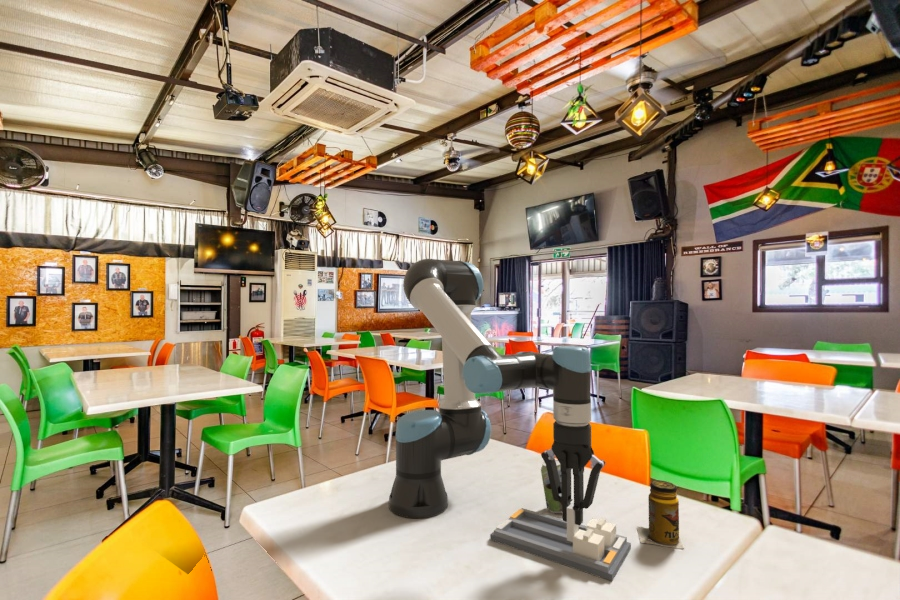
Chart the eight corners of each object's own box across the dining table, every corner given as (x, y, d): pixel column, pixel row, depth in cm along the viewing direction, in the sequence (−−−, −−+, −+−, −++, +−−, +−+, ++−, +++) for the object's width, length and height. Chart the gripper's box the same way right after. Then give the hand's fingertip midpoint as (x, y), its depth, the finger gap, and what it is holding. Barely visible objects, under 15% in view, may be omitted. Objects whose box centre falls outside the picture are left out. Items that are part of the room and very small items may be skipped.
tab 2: (586, 542, 94) (586, 521, 94) (592, 535, 97) (592, 514, 97) (610, 550, 91) (610, 528, 91) (616, 542, 94) (616, 520, 94)
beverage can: (571, 517, 109) (571, 467, 109) (541, 514, 110) (540, 465, 111) (570, 506, 115) (569, 459, 115) (541, 503, 116) (540, 457, 117)
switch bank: (490, 539, 98) (490, 528, 98) (519, 516, 109) (519, 506, 109) (612, 581, 83) (612, 568, 83) (630, 548, 94) (630, 537, 94)
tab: (572, 555, 89) (572, 533, 89) (579, 546, 92) (579, 525, 92) (598, 563, 86) (598, 540, 86) (604, 554, 89) (604, 532, 89)
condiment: (683, 549, 94) (683, 491, 94) (640, 543, 96) (639, 487, 97) (677, 533, 101) (676, 479, 101) (637, 527, 103) (636, 475, 104)
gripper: (534, 421, 92) (535, 536, 92) (598, 430, 85) (599, 556, 84) (549, 414, 98) (549, 522, 98) (609, 422, 91) (610, 540, 90)
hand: (572, 538), depth 91 cm, fingers closed
